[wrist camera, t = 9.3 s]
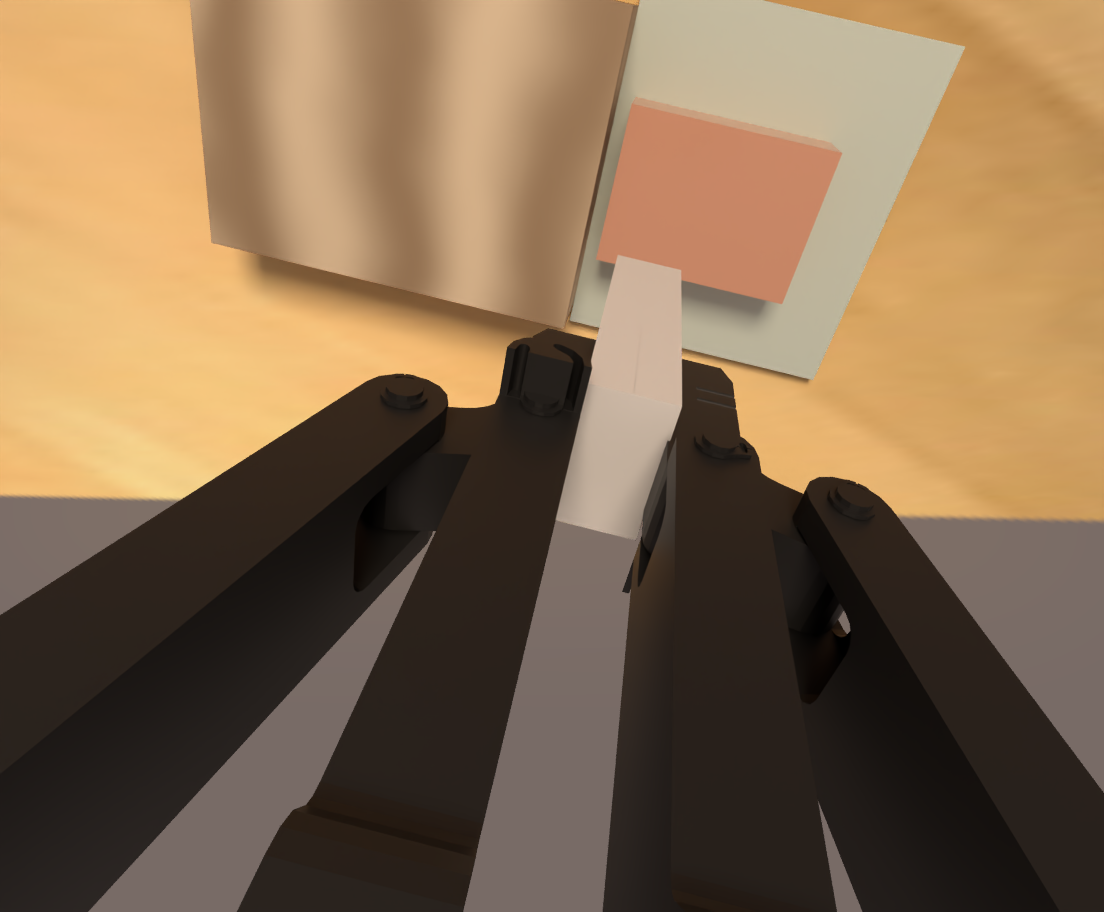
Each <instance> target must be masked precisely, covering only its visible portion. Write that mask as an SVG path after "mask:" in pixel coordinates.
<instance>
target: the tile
mask: <svg viewBox="0 0 1104 912" xmlns="http://www.w3.org/2000/svg"><path fill="white" fill-rule="evenodd" d="M841 155H842V152H841V151H840V150H838V149H837V148H836V147H835V146H834V145H833V144H832V143H831V142H827V141H823V140H818V139H814V138H810V137H806V136H801V135H797V134H793V133H789V132H784V131H780V130H776V129H771V128H767V127H763V126H759V125H754V124H750V123H746V122H741V121H737V120H733V119H729V118H724V117H720V116H716V115H712V114H707V113H703V112H699V111H694V110H690V109H686V108H682V107H677V106H673V105H669V104H665V103H660V102H656V101H652V100H647V99H643V98H639V97H635V99H634V100H633V102H632V105H631V109H630V113H629V118H628V122H627V126H626V131H625V135H624V139H623V144H622V148H621V153H620V157H619V161H618V166H617V170H616V174H615V179H614V183H613V188H612V192H611V196H610V201H609V205H608V209H607V214H606V218H605V222H604V227H603V231H602V236H601V240H600V244H599V249H598V253H597V257H596V260H600V261H604V262H608V263H613V264H616V260H617V256H618V255H621V256H625V257H629V258H633V259H637V260H641V261H646V262H650V263H654V264H658V265H662V266H666V267H671V268H675V269H679V270H681V280H683V281H687V282H691V283H695V284H700V285H704V286H708V287H712V288H716V289H720V290H724V291H729V292H733V293H737V294H741V295H745V296H749V297H754V298H758V299H762V300H766V301H770V302H774V303H778V304H782V303H783V301H784V298H785V296H786V293H787V291H788V288H789V286H790V283H791V281H792V278H793V276H794V273H795V271H796V268H797V266H798V263H799V261H800V258H801V256H802V253H803V251H804V248H805V246H806V243H807V241H808V238H809V236H810V233H811V231H812V228H813V226H814V223H815V221H816V218H817V216H818V213H819V211H820V208H821V206H822V203H823V201H824V198H825V196H826V193H827V191H828V188H829V186H830V183H831V181H832V178H833V176H834V173H835V171H836V168H837V166H838V163H839V161H840V158H841Z"/></svg>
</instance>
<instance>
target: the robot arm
mask: <svg viewBox="0 0 1104 912" xmlns="http://www.w3.org/2000/svg"><path fill="white" fill-rule="evenodd" d="M735 408H736V403H735V399H734V389H733V383H732V381H731V380H730V379H729V378H728V377H727V375H726V374H725V373H724V372H723V371H722V369H721V368H717V367H713V366H709V365H704V364H700V363H696V362H692V361H688V360H684V359H682V310H681V270H679V269H675V268H671V267H666V266H662V265H658V264H654V263H650V262H646V261H641V260H637V259H633V258H629V257H625V256H621V255H618V256H617V260H616V264H615V268H614V272H613V276H612V280H611V284H610V288H609V292H608V296H607V300H606V304H605V308H604V312H603V315H602V319H601V323H600V327H599V331H598V335H597V339H596V340H594V339H590V338H585V337H581V336H577V335H573V334H569V333H565V332H561V331H557V330H553V329H549V328H548V329H546V330H544V331H542V332H541V333H539V334H537V335H535V336H533V338H523V339H520V340H516V341H513V342H512V343H511V344H510V345H509V346H508V347H507V352H506V358H505V364H504V370H503V376H502V382H501V388H500V393H499V396H498V398H497V400H496V402H495V404H493V405H490V406H486V407H480V408H456V407H448V399H447V394H446V393H445V392H444V391H443V390H442V388H441V387H440V386H438V385H436V384H434V383H433V382H431V381H429V380H427V379H423V378H420V377H416V376H414V375H409V374H406V375H404V374H392V375H384V376H378V377H376V378H373V379H371V380H369V381H366V382H365V383H363V384H362V385H360V386H358V387H357V388H355V389H354V390H352V391H351V392H349V393H348V394H346V395H344V396H343V397H341V398H340V399H338V400H337V401H335V402H333V403H332V404H330V405H329V406H327V407H326V408H324V409H322V410H321V411H319V412H318V413H316V414H315V415H313V416H311V417H310V418H308V419H307V420H305V421H304V422H302V423H301V424H299V425H297V426H296V427H294V428H293V429H291V430H290V431H288V432H286V433H285V434H283V435H282V436H280V437H279V438H277V439H275V440H274V441H272V442H271V443H269V444H268V445H266V446H265V447H263V448H261V449H260V450H258V451H257V452H255V453H254V454H252V455H250V456H249V457H247V458H246V459H244V460H243V461H241V462H239V463H238V464H236V465H235V466H233V467H232V468H230V469H228V470H227V471H225V472H224V473H222V474H221V475H219V476H218V477H216V478H214V479H213V480H211V481H210V482H208V483H207V484H205V485H203V486H202V487H200V488H199V489H197V490H196V491H194V492H192V493H191V494H189V495H188V496H186V497H185V498H183V499H182V500H180V501H178V502H177V503H175V504H174V505H172V506H171V507H169V508H168V509H166V510H164V511H163V512H161V513H160V514H158V515H157V516H155V517H153V518H152V519H150V520H149V521H147V522H145V523H144V524H142V525H141V526H139V527H138V528H136V529H135V530H133V531H131V532H130V533H128V534H127V535H125V536H124V537H122V538H120V539H119V540H117V541H116V542H114V543H113V544H111V545H109V546H108V547H106V548H105V549H103V550H102V551H100V552H99V553H97V554H95V555H94V556H92V557H91V558H89V559H88V560H86V561H85V562H83V563H81V564H80V565H79V566H77V567H75V568H73V569H72V570H70V571H69V572H67V573H66V574H64V575H63V576H61V577H59V578H58V579H56V580H55V581H53V582H52V583H50V584H49V585H47V586H45V587H44V588H42V589H41V590H39V591H38V592H36V593H34V594H33V595H31V596H30V597H28V598H26V599H25V600H23V601H22V602H20V603H19V604H17V605H16V606H14V607H12V608H11V609H9V610H8V611H7V612H5V613H3V614H1V615H0V912H88V911H89V910H90V909H91V908H92V907H93V906H94V904H96V902H97V901H98V900H99V899H100V898H101V897H102V896H103V895H104V894H105V893H106V891H107V890H108V889H109V888H110V887H111V886H112V885H113V884H114V883H115V882H116V881H117V879H119V877H120V876H121V875H122V874H123V873H124V872H125V871H126V870H127V869H128V868H129V867H130V865H131V864H132V863H133V862H134V861H135V860H136V859H137V858H138V857H139V856H140V855H141V854H142V853H143V851H144V850H145V849H146V848H147V847H148V846H149V845H150V844H151V843H152V842H153V841H154V839H155V838H156V837H157V836H158V835H159V834H160V833H161V832H162V831H163V830H164V829H165V828H166V826H167V825H168V824H169V823H170V822H171V821H172V820H173V819H174V818H175V817H176V816H177V815H178V813H179V812H180V811H181V810H182V809H183V808H184V807H185V806H186V805H187V804H188V803H189V802H190V800H191V799H192V798H193V797H194V796H195V795H196V794H197V793H198V792H199V791H200V790H201V788H202V787H203V786H204V785H205V784H206V783H207V782H208V781H209V780H210V779H211V778H212V777H213V775H214V774H215V773H216V772H217V771H218V770H219V769H220V768H221V767H222V766H223V765H224V764H225V762H226V761H227V760H228V759H229V758H230V757H231V756H232V755H233V754H234V753H235V752H236V751H237V749H238V748H239V747H240V746H241V745H242V744H243V743H244V742H245V741H246V740H247V738H248V737H249V736H250V735H251V734H252V733H253V732H254V731H255V730H256V729H257V728H258V727H259V726H260V724H261V723H262V722H263V721H264V720H265V719H266V718H267V717H268V716H269V715H270V714H271V713H272V711H273V710H274V709H275V708H276V707H277V706H278V705H279V704H280V703H281V702H282V701H283V699H284V698H285V697H286V696H287V695H288V694H289V693H290V692H291V691H292V690H293V689H294V688H295V686H296V685H297V684H298V683H299V682H300V681H301V680H302V679H303V678H304V677H305V676H306V675H307V673H308V672H309V671H310V670H311V669H312V668H313V667H314V666H315V665H316V663H318V662H319V660H320V659H321V658H322V657H323V656H324V655H325V654H326V653H327V652H328V651H329V650H330V648H331V647H332V646H333V645H334V644H335V643H336V642H337V641H338V640H339V639H340V638H341V636H342V635H343V634H344V633H345V632H346V631H347V630H348V629H349V628H350V627H351V626H352V625H353V624H354V622H355V621H356V620H357V619H358V618H359V617H360V616H361V615H362V614H363V613H364V612H365V610H366V609H367V608H368V607H369V606H370V605H371V604H372V603H373V602H374V601H375V599H376V598H377V597H378V596H379V595H380V594H381V593H382V592H383V591H384V590H385V589H386V588H387V587H388V586H389V584H390V583H391V582H392V581H393V580H394V579H395V578H396V577H397V576H398V575H399V574H400V573H401V571H402V570H403V569H404V568H405V567H406V566H407V565H408V564H409V563H410V562H411V561H412V559H413V558H414V557H415V556H416V555H417V554H418V553H419V552H420V551H421V550H422V548H424V546H425V545H426V544H427V543H428V541H429V539H430V537H431V536H432V532H433V531H436V533H435V535H434V537H433V539H432V541H431V543H430V545H429V547H428V550H427V552H426V554H425V556H424V558H423V560H422V563H421V565H420V567H419V569H418V571H417V573H416V576H415V578H414V580H413V582H412V585H411V586H410V589H409V591H408V593H407V595H406V597H405V600H404V601H403V604H402V606H401V608H400V610H399V613H398V615H397V617H396V619H395V621H394V623H393V625H392V627H391V630H390V632H389V634H388V636H387V638H386V641H385V643H384V645H383V647H382V649H381V651H380V653H379V656H378V658H377V660H376V662H375V664H374V667H373V669H372V671H371V673H370V675H369V677H368V679H367V682H366V684H365V686H364V688H363V690H362V692H361V695H360V697H359V699H358V701H357V704H356V706H355V708H354V710H353V712H352V714H351V716H350V718H349V720H348V723H347V725H346V727H345V729H344V731H343V733H342V736H341V738H340V740H339V742H338V744H337V747H336V749H335V751H334V753H333V755H332V757H331V759H330V762H329V764H328V766H327V768H326V770H325V772H324V775H323V777H322V779H321V781H320V783H319V785H318V787H317V789H316V791H315V793H314V795H313V797H312V798H311V799H310V800H309V802H308V803H307V805H305V806H302V807H300V808H297V809H294V810H293V811H292V812H291V813H290V815H289V816H288V817H287V818H286V820H285V821H284V823H283V824H282V825H281V826H280V828H279V830H278V832H277V834H276V835H275V837H274V839H273V841H272V843H271V844H270V846H269V848H268V850H267V852H266V853H265V855H264V857H263V859H262V862H261V864H260V866H259V868H258V870H257V872H256V874H255V876H254V878H253V880H252V882H251V884H250V886H249V888H248V890H247V892H246V894H245V896H244V898H243V901H242V902H241V905H240V907H239V909H238V911H237V912H463V910H464V905H465V901H466V897H467V893H468V888H469V884H470V880H471V876H472V871H473V867H474V862H475V858H476V853H477V848H478V844H479V839H480V835H481V831H482V826H483V822H484V818H485V814H486V810H487V805H488V801H489V797H490V793H491V789H492V785H493V780H494V776H495V772H496V768H497V763H498V759H499V755H500V751H501V747H502V743H503V738H504V734H505V730H506V726H507V722H508V717H509V713H510V709H511V705H512V701H513V696H514V692H515V688H516V684H517V680H518V675H519V671H520V667H521V663H522V659H523V654H524V650H525V646H526V641H527V637H528V633H529V629H530V625H531V621H532V617H533V612H534V608H535V604H536V600H537V596H538V591H539V587H540V583H541V579H542V575H543V571H544V566H545V562H546V558H547V554H548V550H549V545H550V541H551V537H552V533H553V528H554V524H555V520H556V521H560V522H564V523H569V524H572V525H576V526H580V527H584V528H588V529H592V530H596V531H600V532H604V533H608V534H612V535H616V536H620V537H624V538H628V539H632V540H636V539H637V536H638V533H639V530H640V527H641V524H642V521H643V527H642V537H641V540H640V543H639V545H638V548H637V551H636V554H635V557H634V560H633V563H632V565H631V568H630V571H629V574H628V577H627V580H626V583H625V586H624V588H623V591H622V592H625V593H629V592H630V589H631V595H630V608H629V618H628V629H627V640H626V652H625V665H624V676H623V686H622V697H621V709H620V721H619V731H618V744H617V754H616V767H615V778H614V789H613V800H612V812H611V823H610V835H609V845H608V846H609V847H608V857H607V868H606V880H605V891H604V902H603V912H837V909H836V904H835V898H834V892H833V886H832V881H831V874H830V870H829V863H828V857H827V851H826V845H825V840H824V834H823V828H822V822H821V816H820V810H819V805H818V801H819V804H820V806H821V809H822V811H823V814H824V816H825V819H826V821H827V824H828V826H829V829H830V831H831V834H832V836H833V839H834V841H835V844H836V846H837V849H838V851H839V854H840V857H841V859H842V862H843V864H844V867H845V869H846V871H847V874H848V876H849V879H850V881H851V884H852V886H853V889H854V892H855V894H856V896H857V899H858V901H859V904H860V906H861V909H862V912H1104V793H1103V791H1102V790H1101V788H1100V787H1099V786H1098V785H1097V783H1096V782H1095V780H1094V779H1093V778H1092V776H1091V775H1090V774H1089V772H1088V771H1087V770H1086V769H1085V767H1084V766H1083V764H1082V763H1081V762H1080V760H1079V759H1078V758H1077V756H1076V755H1075V754H1074V752H1073V751H1072V750H1071V748H1070V747H1069V746H1068V744H1067V743H1066V742H1065V740H1064V739H1063V738H1062V736H1061V735H1060V734H1059V732H1058V731H1057V730H1056V728H1055V727H1054V726H1053V724H1052V723H1051V722H1050V720H1049V719H1048V718H1047V716H1046V715H1045V714H1044V712H1043V711H1042V710H1041V708H1040V707H1039V706H1038V704H1037V703H1036V701H1035V700H1034V699H1033V698H1032V696H1031V695H1030V693H1029V692H1028V691H1027V689H1026V688H1025V687H1024V686H1023V684H1022V683H1021V682H1020V680H1019V679H1018V677H1017V676H1016V675H1015V674H1014V672H1013V671H1012V669H1011V668H1010V667H1009V665H1008V664H1007V663H1006V661H1005V660H1004V659H1003V658H1002V656H1001V655H1000V653H999V652H998V651H997V649H996V648H995V647H994V645H993V644H992V643H991V641H990V640H989V639H988V637H987V636H986V635H985V634H984V632H983V631H982V629H981V628H980V627H979V626H978V624H977V623H976V621H975V620H974V619H973V617H972V616H971V615H970V613H969V612H968V611H967V609H966V608H965V607H964V605H963V604H962V602H961V601H960V600H959V599H958V597H957V596H956V594H955V593H954V592H953V591H952V589H951V588H950V586H949V585H948V584H947V582H946V581H945V580H944V578H943V577H942V576H941V574H940V573H939V572H938V570H937V569H936V568H935V566H934V565H933V564H932V562H931V561H930V560H929V558H928V557H927V556H926V554H925V553H924V552H923V550H922V549H921V548H920V546H919V545H918V544H917V542H916V541H915V540H914V538H913V537H912V536H911V534H910V533H909V532H908V530H907V529H906V528H905V526H904V525H903V524H902V522H901V521H900V519H899V518H898V517H897V515H896V514H895V513H894V511H893V510H892V509H891V508H890V507H889V506H888V505H887V504H886V503H885V502H884V501H883V500H882V499H881V498H880V497H879V496H877V495H876V494H874V493H873V492H871V491H870V490H869V489H868V488H866V487H865V486H863V485H861V484H856V482H853V481H850V480H844V479H839V478H835V477H818V478H816V479H814V480H812V481H810V482H809V484H808V486H807V488H806V490H805V492H804V494H802V493H800V492H798V491H795V490H793V489H791V488H789V487H786V486H784V485H782V484H780V483H778V482H776V481H774V480H772V479H770V478H768V477H767V476H765V475H764V474H762V473H761V467H760V461H759V457H758V455H757V453H756V451H755V449H754V447H753V446H752V445H750V444H749V443H748V442H747V441H746V440H745V439H744V438H742V437H740V431H739V424H738V417H737V410H736V409H735ZM843 611H845V613H846V615H847V618H848V620H849V623H850V630H851V631H850V632H849V633H848V634H846V632H845V631H844V630H843V628H842V626H841V624H840V622H839V621H838V619H839V617H840V616H841V614H842V612H843Z"/></svg>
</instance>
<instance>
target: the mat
mask: <svg viewBox="0 0 1104 912" xmlns="http://www.w3.org/2000/svg"><path fill="white" fill-rule="evenodd" d="M964 48H965V47H964V46H960V45H955V44H951V43H947V42H942V41H938V40H933V39H929V38H925V37H920V36H916V35H912V34H907V33H903V32H899V31H894V30H890V29H886V28H881V27H877V26H872V25H868V24H864V23H859V22H855V21H851V20H846V19H842V18H838V17H833V16H829V15H825V14H820V13H816V12H811V11H807V10H803V9H798V8H794V7H790V6H785V5H781V4H777V3H772V2H768V1H764V0H640V2H639V7H638V11H637V16H636V20H635V25H634V30H633V34H632V39H631V43H630V48H629V52H628V57H627V62H626V66H625V71H624V75H623V80H622V84H621V89H620V94H619V98H618V103H617V107H616V112H615V116H614V121H613V126H612V130H611V135H610V139H609V144H608V148H607V153H606V158H605V162H604V167H603V171H602V176H601V180H600V185H599V190H598V194H597V199H596V203H595V208H594V212H593V217H592V221H591V226H590V231H589V235H588V240H587V244H586V249H585V253H584V258H583V263H582V267H581V272H580V276H579V281H578V285H577V290H576V295H575V299H574V304H573V308H572V313H571V317H570V321H574V322H578V323H582V324H586V325H590V326H594V327H598V328H599V327H600V323H601V319H602V315H603V312H604V308H605V304H606V300H607V296H608V292H609V288H610V284H611V280H612V276H613V272H614V268H615V264H613V263H608V262H604V261H600V260H596V257H597V253H598V249H599V244H600V240H601V236H602V231H603V227H604V222H605V218H606V214H607V209H608V205H609V201H610V196H611V192H612V188H613V183H614V179H615V174H616V170H617V166H618V161H619V157H620V153H621V148H622V144H623V139H624V135H625V131H626V126H627V122H628V118H629V113H630V109H631V105H632V102H633V100H634V99H635V97H639V98H643V99H647V100H652V101H656V102H660V103H665V104H669V105H673V106H677V107H682V108H686V109H690V110H694V111H699V112H703V113H707V114H712V115H716V116H720V117H724V118H729V119H733V120H737V121H741V122H746V123H750V124H754V125H759V126H763V127H767V128H771V129H776V130H780V131H784V132H789V133H793V134H797V135H801V136H806V137H810V138H814V139H818V140H823V141H827V142H831V143H832V144H833V145H834V146H835V147H836V148H837V149H838V150H840V151H841V152H842V155H841V158H840V161H839V163H838V166H837V168H836V171H835V173H834V176H833V178H832V181H831V183H830V186H829V188H828V191H827V193H826V196H825V198H824V201H823V203H822V206H821V208H820V211H819V213H818V216H817V218H816V221H815V223H814V226H813V228H812V231H811V233H810V236H809V238H808V241H807V243H806V246H805V248H804V251H803V253H802V256H801V258H800V261H799V263H798V266H797V268H796V271H795V273H794V276H793V278H792V281H791V283H790V286H789V288H788V291H787V293H786V296H785V298H784V301H783V303H782V304H778V303H774V302H770V301H766V300H762V299H758V298H754V297H749V296H745V295H741V294H737V293H733V292H729V291H724V290H720V289H716V288H712V287H708V286H704V285H700V284H695V283H691V282H687V281H683V280H681V310H682V348H684V349H688V350H692V351H696V352H701V353H705V354H709V355H713V356H717V357H721V358H725V359H729V360H733V361H737V362H741V363H746V364H750V365H754V366H758V367H762V368H766V369H770V370H774V371H778V372H782V373H786V374H791V375H795V376H799V377H803V378H807V379H811V380H813V379H814V377H815V375H816V373H817V370H818V368H819V366H820V364H821V362H822V359H823V357H824V355H825V353H826V351H827V349H828V346H829V344H830V342H831V340H832V338H833V335H834V333H835V331H836V329H837V327H838V324H839V322H840V320H841V318H842V316H843V313H844V311H845V309H846V307H847V305H848V303H849V300H850V298H851V296H852V294H853V292H854V289H855V287H856V285H857V283H858V281H859V278H860V276H861V274H862V272H863V270H864V267H865V265H866V263H867V261H868V259H869V257H870V254H871V252H872V250H873V248H874V246H875V243H876V241H877V239H878V237H879V235H880V232H881V230H882V228H883V226H884V224H885V222H886V219H887V217H888V215H889V213H890V211H891V208H892V206H893V204H894V202H895V200H896V197H897V195H898V193H899V191H900V189H901V186H902V184H903V182H904V180H905V178H906V176H907V173H908V171H909V169H910V167H911V165H912V162H913V160H914V158H915V156H916V154H917V151H918V149H919V147H920V145H921V143H922V140H923V138H924V136H925V134H926V132H927V130H928V127H929V125H930V123H931V121H932V119H933V116H934V114H935V112H936V110H937V108H938V105H939V103H940V101H941V99H942V97H943V94H944V92H945V90H946V88H947V86H948V84H949V81H950V79H951V77H952V75H953V73H954V70H955V68H956V66H957V64H958V62H959V59H960V57H961V55H962V53H963V51H964Z"/></svg>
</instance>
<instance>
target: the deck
mask: <svg viewBox="0 0 1104 912" xmlns="http://www.w3.org/2000/svg"><path fill="white" fill-rule="evenodd" d="M190 7H191V19H192V30H193V41H194V52H195V63H196V74H197V85H198V97H199V108H200V119H201V130H202V141H203V152H204V163H205V175H206V186H207V197H208V208H209V219H210V230H211V241H212V243H214V244H219V245H223V246H227V247H231V248H235V249H239V250H243V251H247V252H251V253H255V254H259V255H264V256H268V257H272V258H276V259H280V260H284V261H288V262H292V263H296V264H300V265H304V266H308V267H313V268H317V269H321V270H325V271H329V272H333V273H337V274H341V275H345V276H349V277H353V278H357V279H362V280H366V281H370V282H374V283H378V284H382V285H386V286H390V287H394V288H398V289H402V290H406V291H411V292H415V293H419V294H423V295H427V296H431V297H435V298H439V299H443V300H447V301H451V302H455V303H460V304H464V305H468V306H472V307H476V308H480V309H484V310H488V311H492V312H496V313H500V314H504V315H509V316H513V317H517V318H521V319H525V320H529V321H533V322H537V323H541V324H545V325H549V326H553V327H558V328H562V329H564V327H565V324H566V321H567V319H568V316H569V313H570V311H571V308H572V305H573V303H574V299H575V295H576V290H577V285H578V281H579V276H580V272H581V267H582V263H583V258H584V253H585V249H586V244H587V240H588V235H589V231H590V226H591V221H592V217H593V212H594V208H595V203H596V199H597V194H598V190H599V185H600V180H601V176H602V171H603V167H604V162H605V158H606V153H607V148H608V144H609V139H610V135H611V130H612V126H613V121H614V116H615V112H616V107H617V103H618V98H619V94H620V89H621V84H622V80H623V75H624V71H625V66H626V62H627V57H628V52H629V48H630V43H631V39H632V34H633V30H634V25H635V20H636V16H637V11H638V7H639V6H638V5H634V4H629V3H625V2H621V1H616V0H190Z"/></svg>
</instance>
